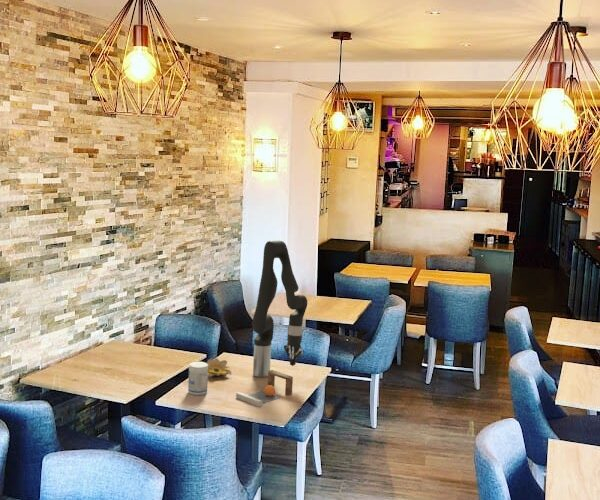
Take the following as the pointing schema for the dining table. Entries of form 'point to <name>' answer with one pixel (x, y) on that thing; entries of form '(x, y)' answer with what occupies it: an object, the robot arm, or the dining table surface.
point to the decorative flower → (217, 368)
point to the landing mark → (263, 396)
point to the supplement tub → (198, 378)
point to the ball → (269, 390)
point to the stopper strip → (249, 399)
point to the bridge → (288, 378)
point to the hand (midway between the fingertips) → (292, 365)
